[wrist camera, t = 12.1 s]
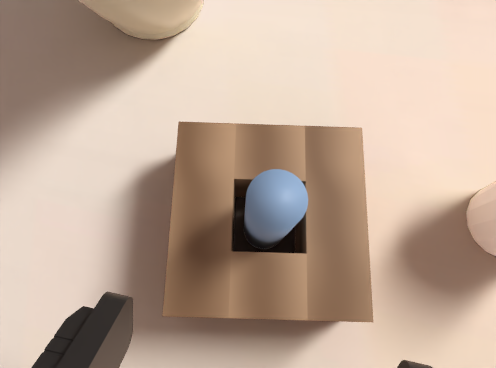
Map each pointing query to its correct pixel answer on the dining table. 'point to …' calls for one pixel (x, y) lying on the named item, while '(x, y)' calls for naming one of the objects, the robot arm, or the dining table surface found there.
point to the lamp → (147, 15)
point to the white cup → (483, 218)
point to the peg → (273, 207)
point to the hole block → (264, 263)
